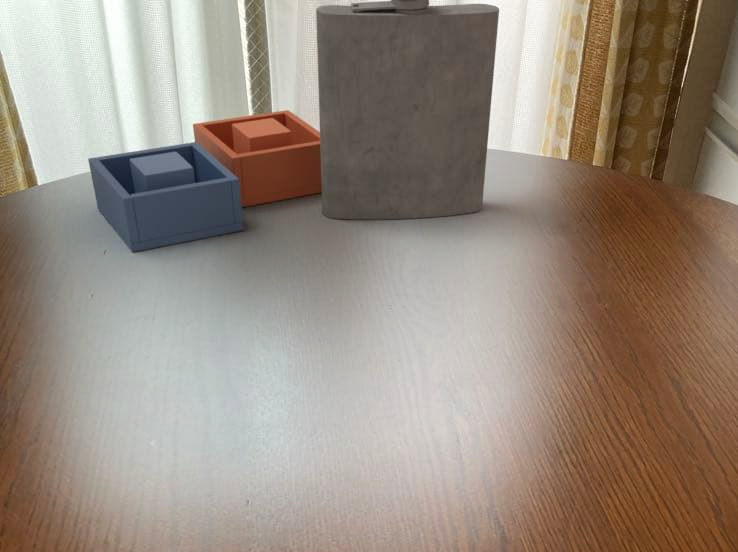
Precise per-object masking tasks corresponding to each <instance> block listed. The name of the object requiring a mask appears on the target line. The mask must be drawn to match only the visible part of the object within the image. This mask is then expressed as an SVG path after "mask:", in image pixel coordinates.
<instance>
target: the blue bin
mask: <svg viewBox="0 0 738 552" xmlns="http://www.w3.org/2000/svg"><path fill="white" fill-rule="evenodd" d="M170 152H177V153H178V154H179V155H180V156H181V157H183V158H184V159H185V160H186V161H187V162H188V163H189V164H190V165H191V166H192V167H193V170H194V178H195V183H193V184H187V185H182V186H176V187H170V188H164V189H158V190H153V191H147V192H141V193H135V190H134V184H133V178H132V172H131V166H130V159H132V158H138V157H145V156H151V155H158V154H164V153H170ZM87 161H88V166H89V170H90V176H91V181H92V186H93V190H94V196H95V200H96V206H97V210H98V209H99V210H98V211H99V212H100V214H101V215H102V214H103V215H102V216H103V217H104V218H105V220H106V221H107V223H108V224H109V225H110V226H111V227H112V228H113V230H114V231H115V232H116V234H117V235H118V236H119V238H120V239H122V241H123V242H124V244H125V245H126V246H127V247H128V248H129V250H130V251H131V253H135V252H141V251H146V250H151V249H156V248H161V247H166V246H171V245H175V244H180V243H186V242H191V241H196V240H200V239H201V240H202V239H207V238H210V237H211V238H212V237H216V236H221V235H222V236H223V235H227V234H231V233H237V232H242V231H244V221H243V210H242V208H243V207H241V197H240V186H239V179H238V178H237V177H236V176H235V175H234V174H233V173H231V172H230V171H229V170H228V169H227V168H226V167H225V166H224V165H222V164H221V163H220V162H219V161H218V160H217V159H216V158H215V157H213V156H212V155H211V154H210V153H209V152H208V151H207V150H206V149H204V148H203V147H202V146H201V145H200V144H199V143H198V142H195V141H193V142H186V143H181V144H174V145H167V146H160V147H154V148H148V149H142V150H136V151H129V152H121V153H116V154H110V155H103V156H96V157H89V158H88V159H87Z"/></svg>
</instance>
